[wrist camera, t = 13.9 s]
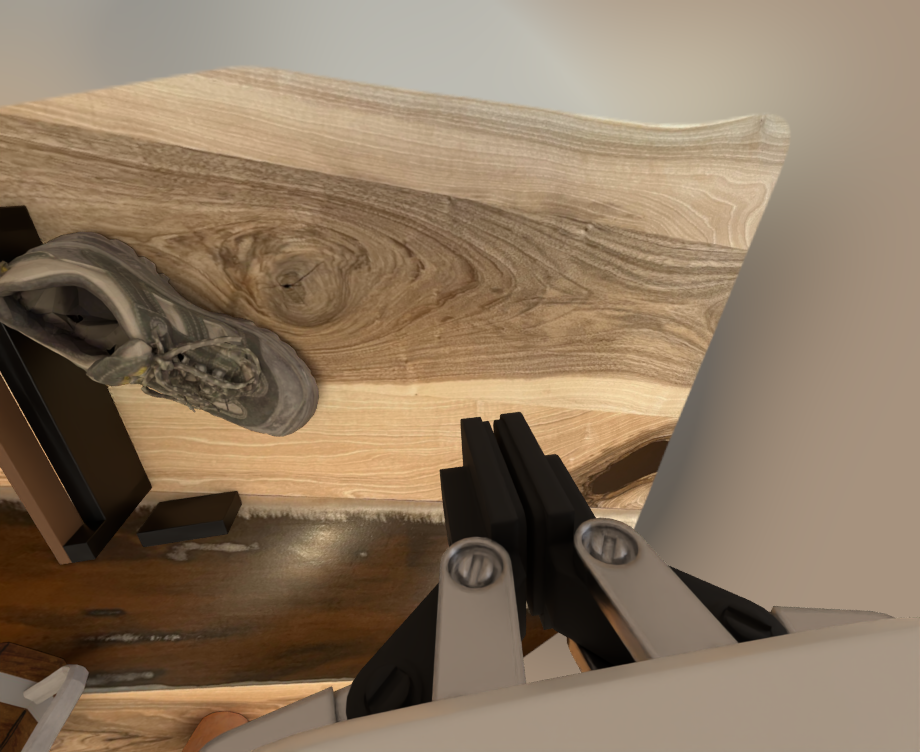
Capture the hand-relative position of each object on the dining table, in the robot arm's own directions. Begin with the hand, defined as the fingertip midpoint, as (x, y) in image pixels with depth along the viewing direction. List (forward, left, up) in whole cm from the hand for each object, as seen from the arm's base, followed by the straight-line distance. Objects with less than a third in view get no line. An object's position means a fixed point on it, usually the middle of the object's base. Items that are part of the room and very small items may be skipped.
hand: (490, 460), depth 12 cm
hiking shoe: (+3, -18, -26) cm, 32 cm away
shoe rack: (+6, -24, -26) cm, 36 cm away
